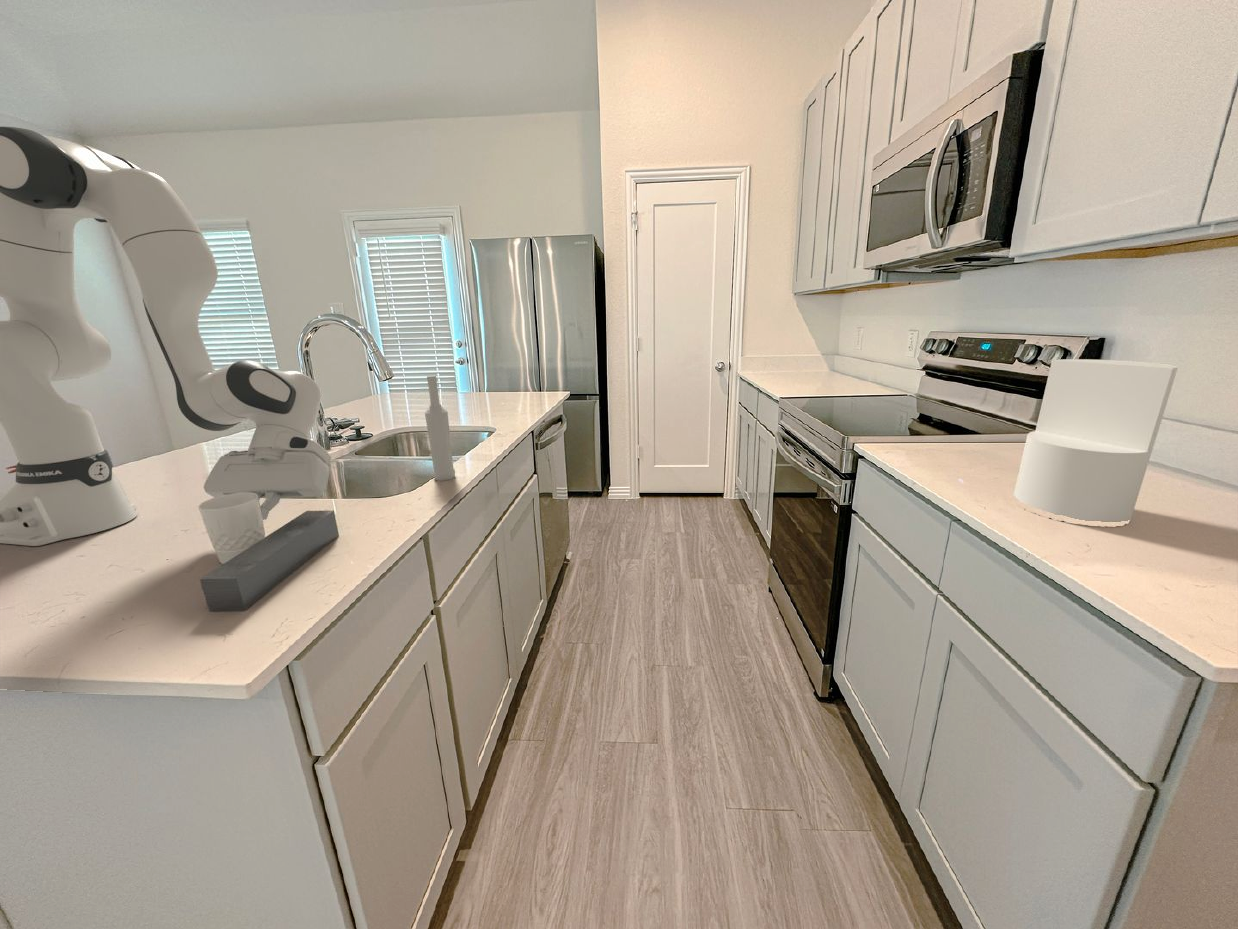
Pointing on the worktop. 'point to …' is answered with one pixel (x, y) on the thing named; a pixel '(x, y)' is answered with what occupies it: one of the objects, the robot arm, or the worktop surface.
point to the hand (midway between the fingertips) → (254, 518)
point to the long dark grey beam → (268, 562)
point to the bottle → (439, 435)
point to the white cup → (233, 523)
